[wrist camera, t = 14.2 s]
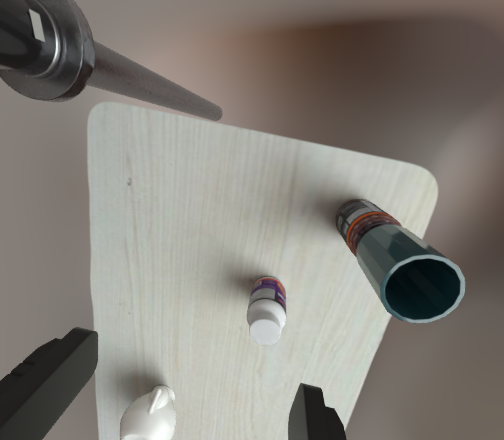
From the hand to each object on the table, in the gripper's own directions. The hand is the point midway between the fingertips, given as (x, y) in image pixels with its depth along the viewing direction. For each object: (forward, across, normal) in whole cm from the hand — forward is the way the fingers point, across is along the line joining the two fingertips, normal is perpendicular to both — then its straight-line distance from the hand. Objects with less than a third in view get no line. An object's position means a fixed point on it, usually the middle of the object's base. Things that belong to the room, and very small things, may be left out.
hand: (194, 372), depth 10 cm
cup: (+17, -14, 0) cm, 22 cm away
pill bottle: (+29, -5, +14) cm, 33 cm away
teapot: (+29, +10, +43) cm, 53 cm away
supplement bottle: (+29, -14, 0) cm, 32 cm away
